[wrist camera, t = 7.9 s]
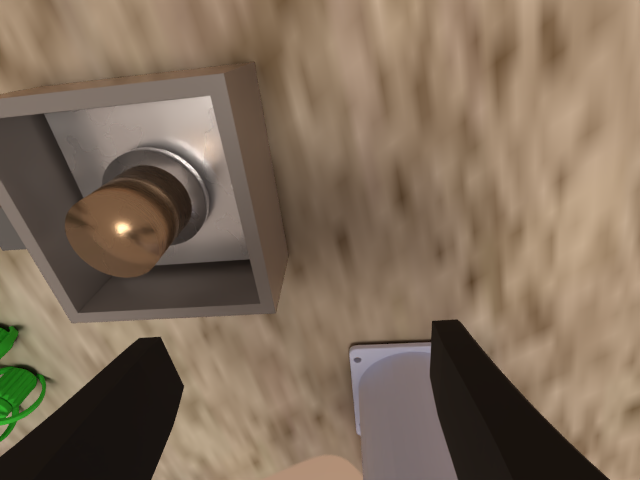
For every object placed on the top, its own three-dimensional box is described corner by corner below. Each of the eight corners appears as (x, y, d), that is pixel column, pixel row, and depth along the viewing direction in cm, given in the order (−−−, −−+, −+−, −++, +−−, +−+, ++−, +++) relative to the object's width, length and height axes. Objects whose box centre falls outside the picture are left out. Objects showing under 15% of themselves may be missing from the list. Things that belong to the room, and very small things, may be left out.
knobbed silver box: (289, 254, 21) (276, 313, 16) (100, 266, 22) (40, 324, 17) (255, 61, 16) (223, 73, 11) (12, 89, 17) (-101, 110, 12)
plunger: (263, 253, 19) (242, 317, 15) (121, 262, 20) (62, 326, 16) (228, 92, 15) (185, 116, 11) (52, 111, 16) (-54, 141, 12)
